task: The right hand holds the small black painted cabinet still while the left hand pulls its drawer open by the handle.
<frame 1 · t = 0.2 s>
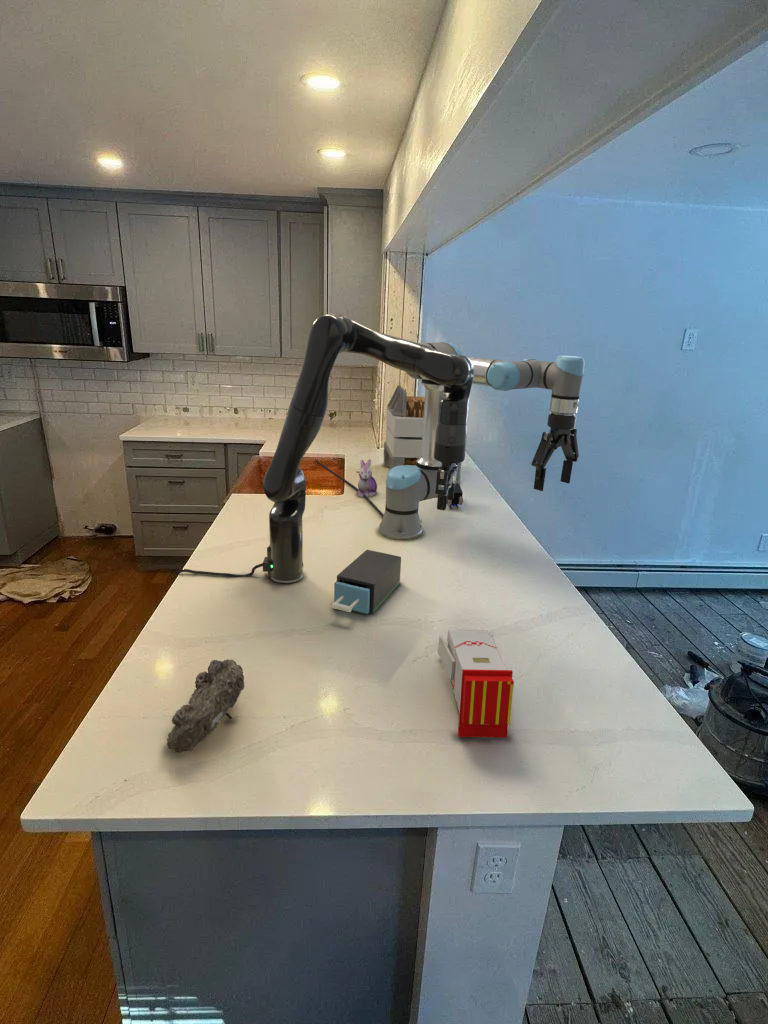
left hand: (445, 504, 142), 29 cm above the counter, tool pointing down, fingers open, 8 cm apart
right hand: (551, 486, 166), 28 cm above the counter, tool pointing down, fingers open, 13 cm apart
toy: (469, 691, 119), on the counter
fossil: (212, 717, 108), on the counter
figurine: (366, 494, 240), on the counter
light grey slatted crate: (419, 473, 275), on the counter
drawer: (360, 588, 151), point 4 cm above the counter, slide at 1.3 cm
figurine character: (452, 505, 232), on the counter
cabinet: (369, 593, 158), on the counter
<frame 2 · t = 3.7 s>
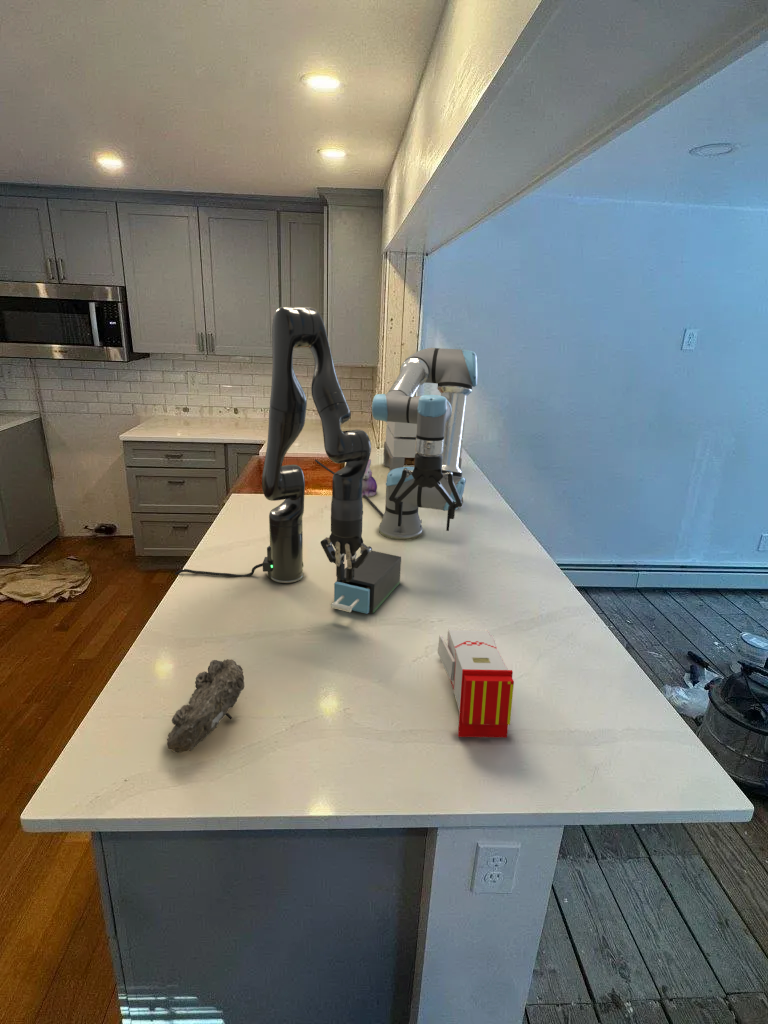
left hand: (345, 579, 140), 11 cm above the counter, tool pointing down, fingers closed
right hand: (423, 527, 160), 17 cm above the counter, tool pointing down, fingers open, 13 cm apart
nothing on the counter moved.
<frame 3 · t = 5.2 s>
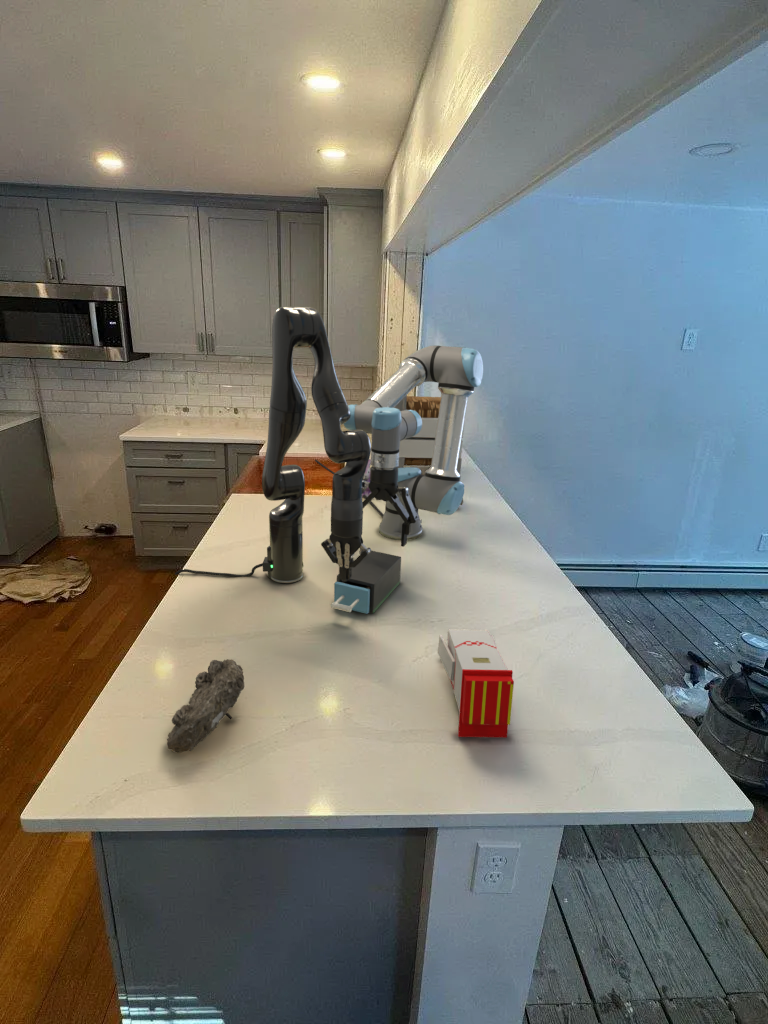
left hand: (345, 579, 140), 11 cm above the counter, tool pointing down, fingers closed
right hand: (381, 540, 159), 14 cm above the counter, tool pointing down, fingers open, 13 cm apart
nothing on the counter moved.
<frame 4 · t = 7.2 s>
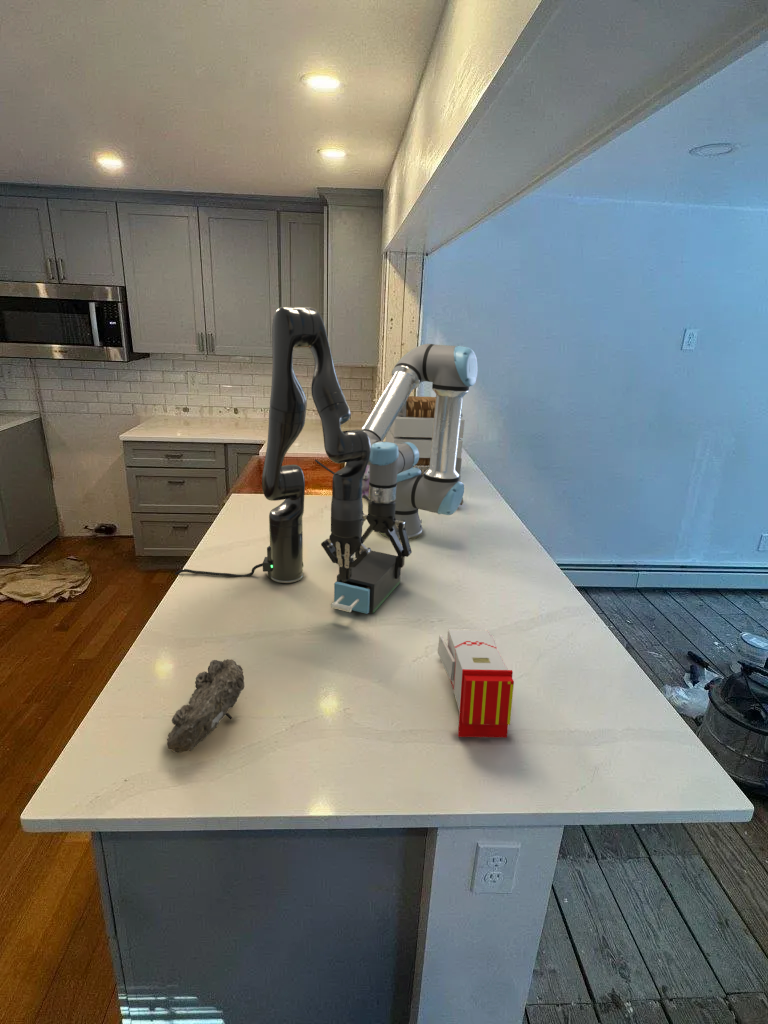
left hand: (345, 579, 140), 11 cm above the counter, tool pointing down, fingers closed
right hand: (378, 572, 162), 4 cm above the counter, tool pointing down, fingers closed on cabinet, 11 cm apart
cabinet: (369, 593, 158), on the counter, touching right hand
everything else where it was.
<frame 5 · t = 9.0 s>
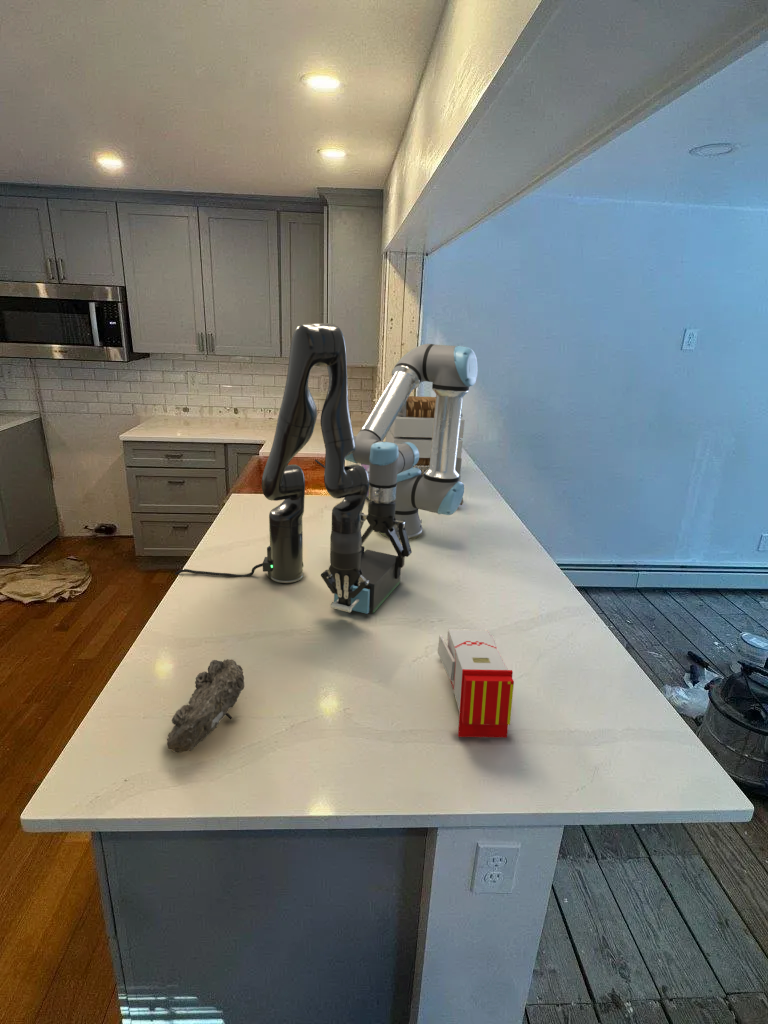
left hand: (344, 609, 143), 3 cm above the counter, tool pointing down, fingers closed
right hand: (378, 572, 162), 4 cm above the counter, tool pointing down, fingers closed on cabinet, 11 cm apart
drawer: (360, 588, 151), point 4 cm above the counter, slide at 1.3 cm, touching left hand
cabinet: (369, 593, 158), on the counter, touching right hand
everything else where it was.
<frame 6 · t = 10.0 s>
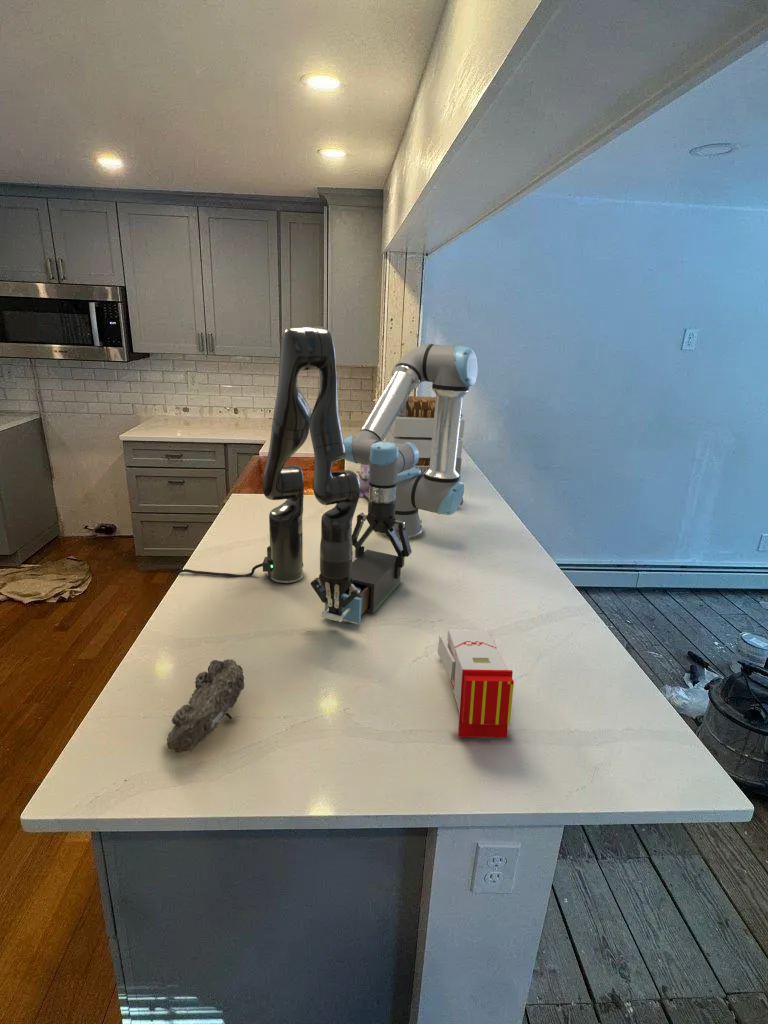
left hand: (335, 618, 138), 3 cm above the counter, tool pointing down, fingers closed
right hand: (378, 572, 162), 4 cm above the counter, tool pointing down, fingers closed on cabinet, 11 cm apart
drawer: (352, 597, 146), point 4 cm above the counter, slide at 6.4 cm, touching left hand
cabinet: (369, 593, 157), on the counter, touching right hand
everything else where it was.
when the right hand's fingers open (4 cm above the counter, at t = 12.1 s): cabinet stays where it is, on the counter.
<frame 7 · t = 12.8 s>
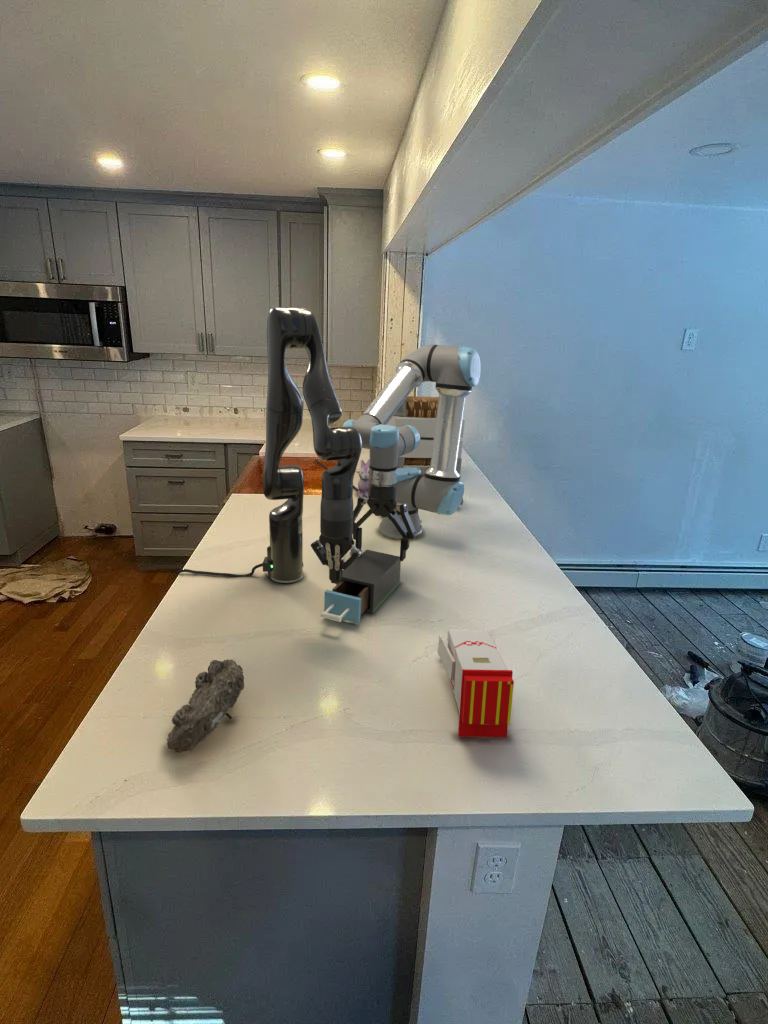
left hand: (335, 582, 135), 13 cm above the counter, tool pointing down, fingers closed
right hand: (380, 554, 160), 9 cm above the counter, tool pointing down, fingers open, 13 cm apart
drawer: (351, 597, 146), point 4 cm above the counter, slide at 6.4 cm
cabinet: (369, 593, 158), on the counter
everything else where it was.
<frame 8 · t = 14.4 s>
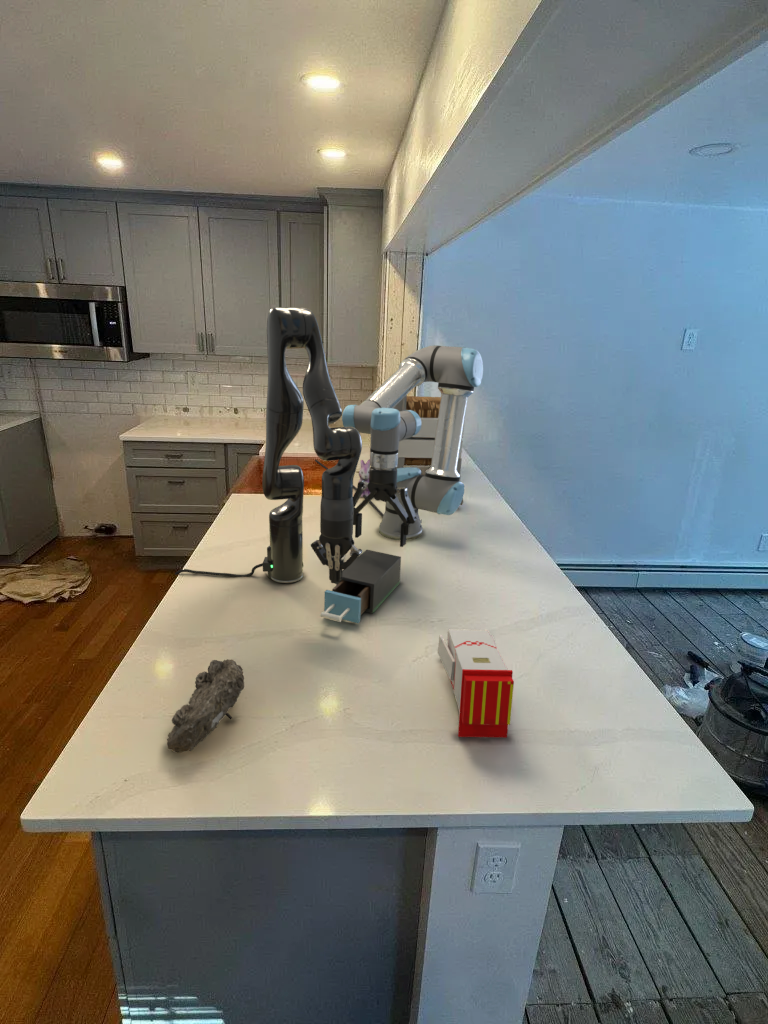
left hand: (335, 582, 135), 13 cm above the counter, tool pointing down, fingers closed
right hand: (380, 540, 159), 14 cm above the counter, tool pointing down, fingers open, 13 cm apart
nothing on the counter moved.
at the end: drawer slide at 6.4 cm; cabinet tilted 0°; cabinet never tilted more than 1° during the clip; cabinet moved 0.1 cm from its start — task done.
